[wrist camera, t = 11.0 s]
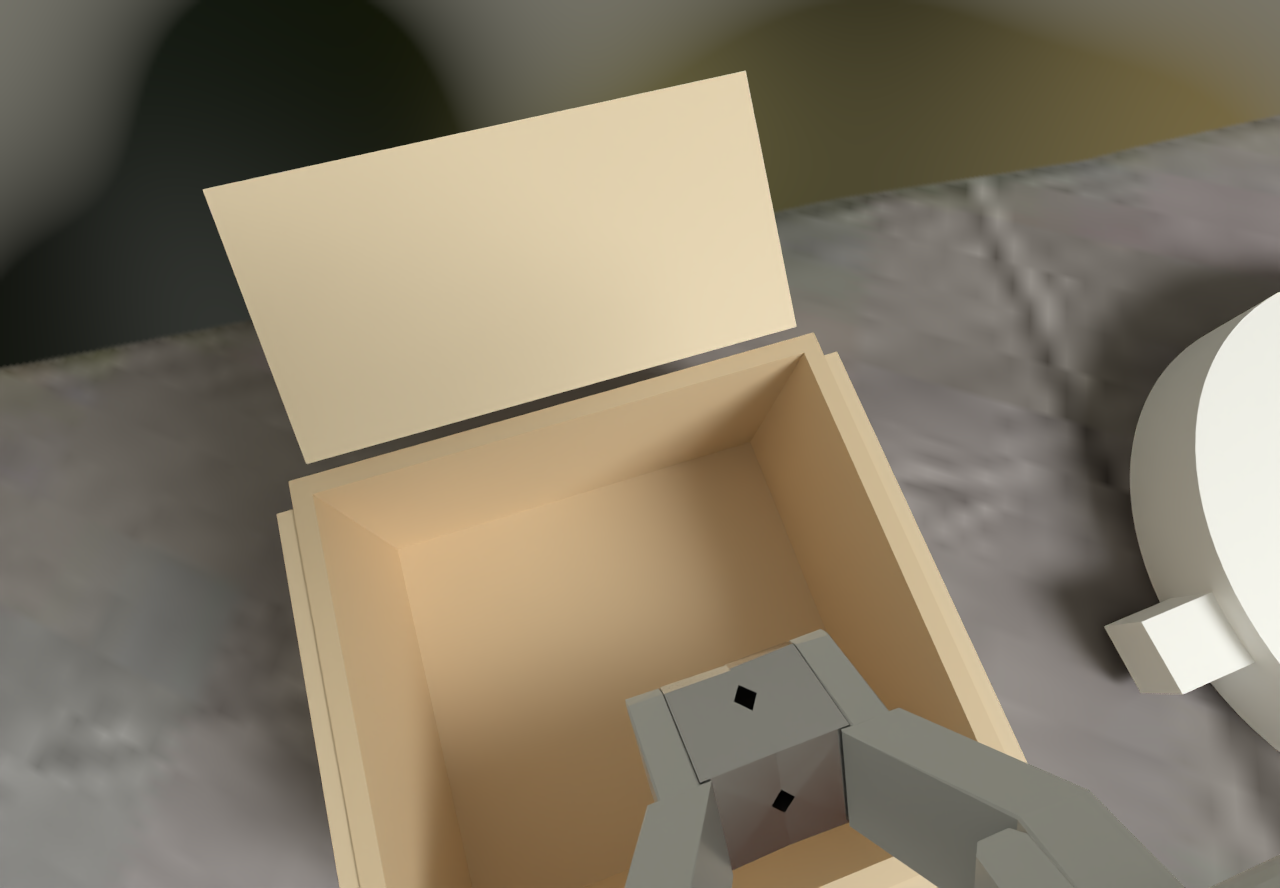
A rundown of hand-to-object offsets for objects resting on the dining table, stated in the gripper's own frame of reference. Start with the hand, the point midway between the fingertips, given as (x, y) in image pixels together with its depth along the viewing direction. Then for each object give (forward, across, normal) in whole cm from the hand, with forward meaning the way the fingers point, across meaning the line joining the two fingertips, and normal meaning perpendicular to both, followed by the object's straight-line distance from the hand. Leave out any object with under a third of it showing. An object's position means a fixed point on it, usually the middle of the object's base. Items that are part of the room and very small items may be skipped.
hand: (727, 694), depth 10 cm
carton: (+18, 0, +16) cm, 24 cm away
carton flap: (+16, 0, +2) cm, 16 cm away
